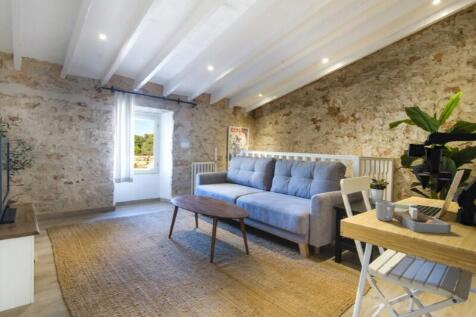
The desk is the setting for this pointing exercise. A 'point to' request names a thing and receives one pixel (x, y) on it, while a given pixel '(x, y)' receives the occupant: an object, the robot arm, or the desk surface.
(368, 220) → the desk surface
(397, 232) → the desk surface
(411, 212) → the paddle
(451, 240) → the desk surface
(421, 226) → the bin
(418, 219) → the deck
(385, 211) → the cup
